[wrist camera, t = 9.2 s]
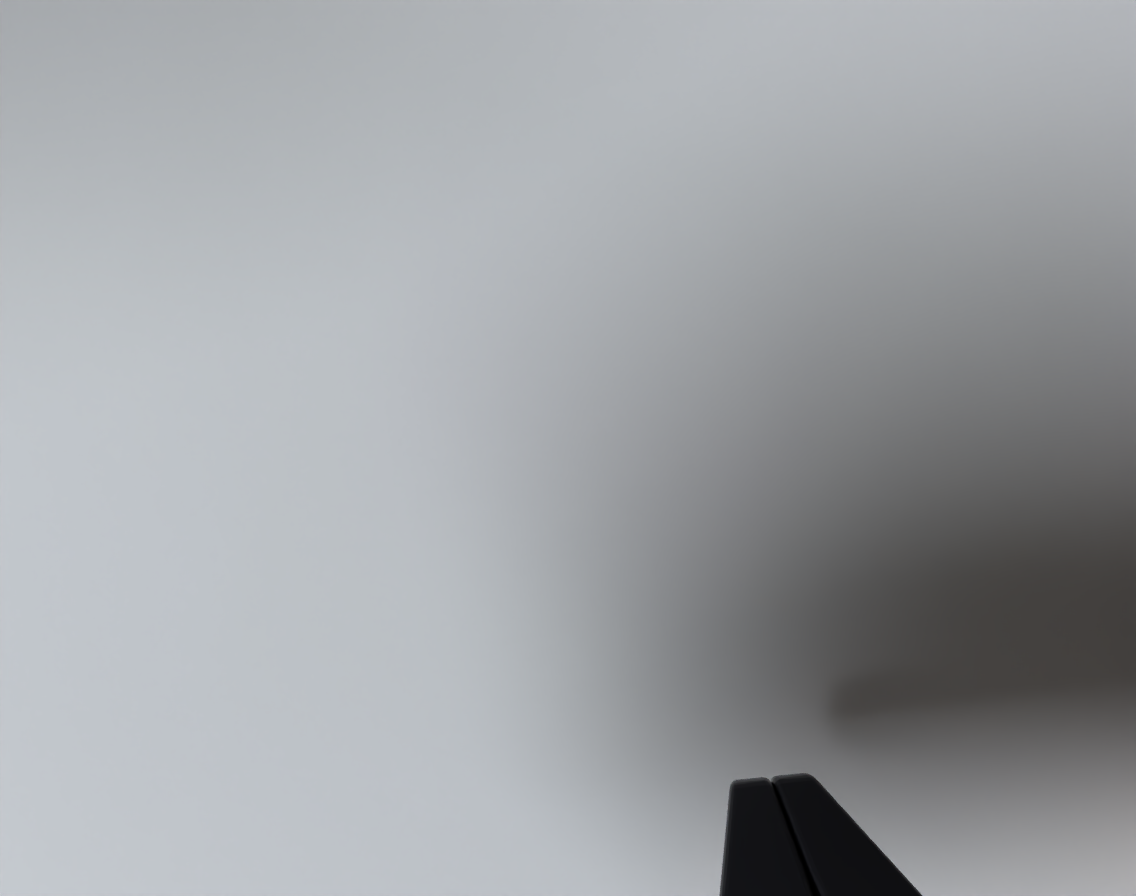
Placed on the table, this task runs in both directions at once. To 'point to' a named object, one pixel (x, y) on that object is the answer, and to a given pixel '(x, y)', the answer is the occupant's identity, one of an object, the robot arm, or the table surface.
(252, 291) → the table surface
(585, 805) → the table surface
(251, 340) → the table surface
